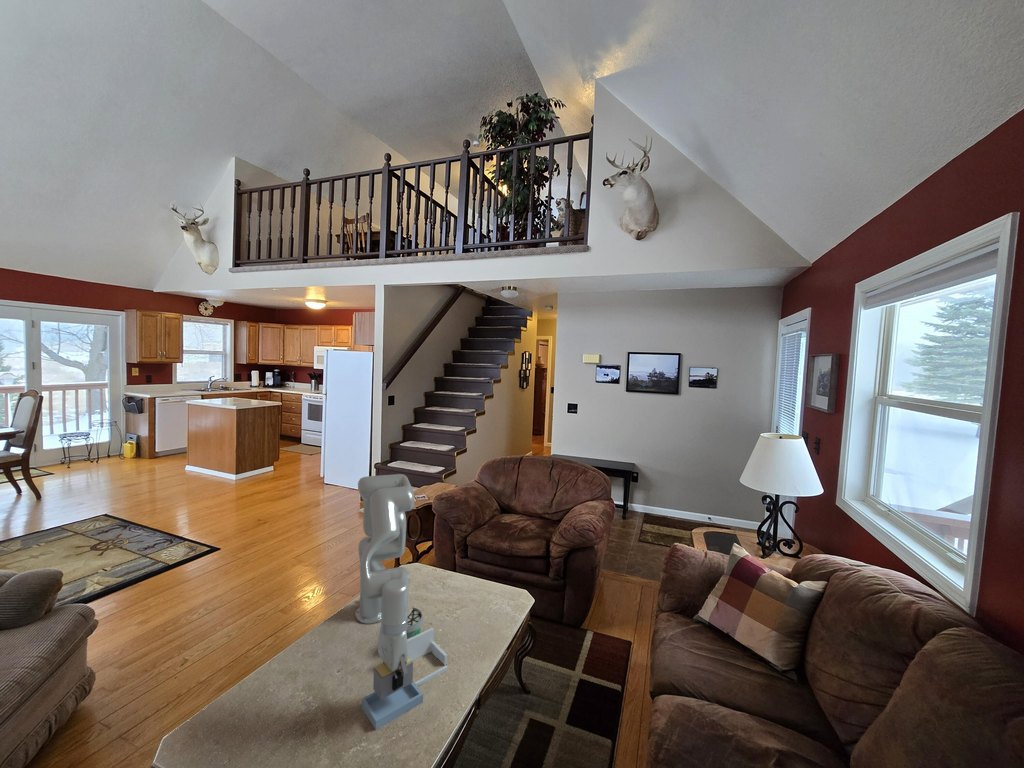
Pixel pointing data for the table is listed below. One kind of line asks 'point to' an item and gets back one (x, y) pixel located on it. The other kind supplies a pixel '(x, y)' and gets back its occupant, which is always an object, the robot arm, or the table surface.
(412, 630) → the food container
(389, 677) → the yellow-topped block
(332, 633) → the table surface
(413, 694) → the tray
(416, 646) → the bay
